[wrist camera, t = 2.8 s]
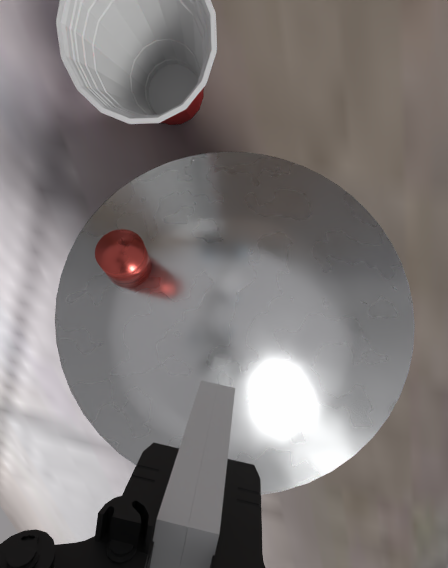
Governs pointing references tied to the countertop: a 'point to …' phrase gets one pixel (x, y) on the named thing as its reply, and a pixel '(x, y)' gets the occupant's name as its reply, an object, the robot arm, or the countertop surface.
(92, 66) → the plastic cup
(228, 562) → the robot arm
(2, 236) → the countertop surface
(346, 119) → the countertop surface
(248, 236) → the cooker lid
